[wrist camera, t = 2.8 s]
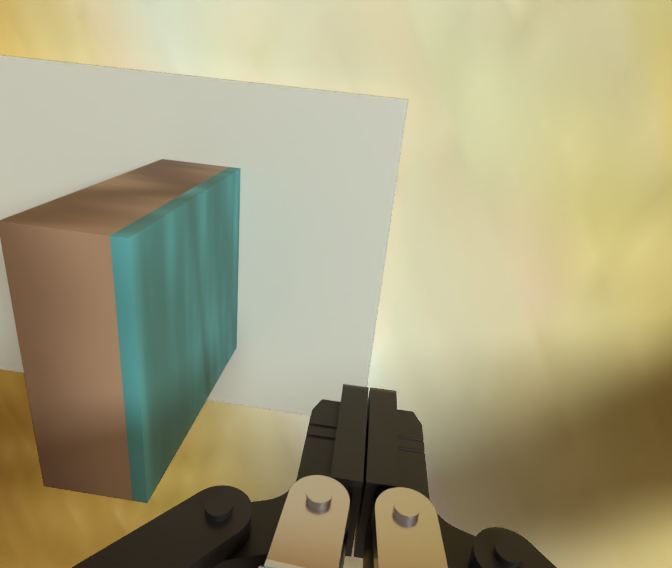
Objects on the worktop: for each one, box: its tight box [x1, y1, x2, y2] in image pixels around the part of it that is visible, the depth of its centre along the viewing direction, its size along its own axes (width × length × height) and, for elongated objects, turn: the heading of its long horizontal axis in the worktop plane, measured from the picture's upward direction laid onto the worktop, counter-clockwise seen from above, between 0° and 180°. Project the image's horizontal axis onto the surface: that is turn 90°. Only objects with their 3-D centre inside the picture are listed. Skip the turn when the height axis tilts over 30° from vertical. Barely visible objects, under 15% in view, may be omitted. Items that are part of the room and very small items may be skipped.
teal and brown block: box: [0, 159, 241, 503], centre depth 19 cm, size 4×9×10 cm, turn 174°
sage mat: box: [0, 55, 408, 416], centre depth 24 cm, size 23×16×1 cm
